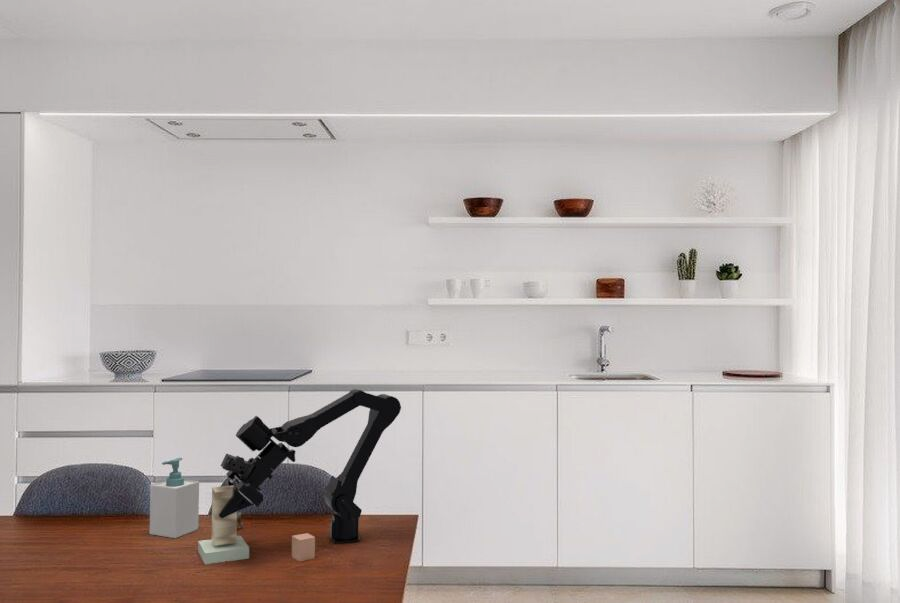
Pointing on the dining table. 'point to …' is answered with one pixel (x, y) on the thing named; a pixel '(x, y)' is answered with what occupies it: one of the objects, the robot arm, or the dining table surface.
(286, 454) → the robot arm
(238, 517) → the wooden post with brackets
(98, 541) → the dining table surface
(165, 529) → the soap bottle
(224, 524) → the birch pillar
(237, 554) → the sage block
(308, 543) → the pinkish beige block
